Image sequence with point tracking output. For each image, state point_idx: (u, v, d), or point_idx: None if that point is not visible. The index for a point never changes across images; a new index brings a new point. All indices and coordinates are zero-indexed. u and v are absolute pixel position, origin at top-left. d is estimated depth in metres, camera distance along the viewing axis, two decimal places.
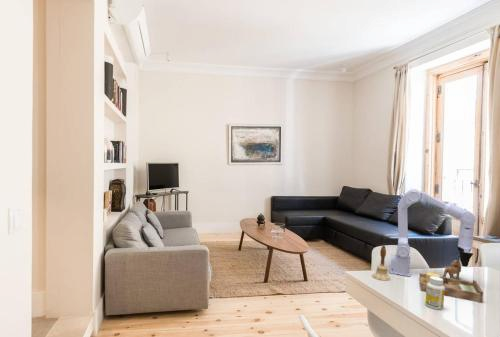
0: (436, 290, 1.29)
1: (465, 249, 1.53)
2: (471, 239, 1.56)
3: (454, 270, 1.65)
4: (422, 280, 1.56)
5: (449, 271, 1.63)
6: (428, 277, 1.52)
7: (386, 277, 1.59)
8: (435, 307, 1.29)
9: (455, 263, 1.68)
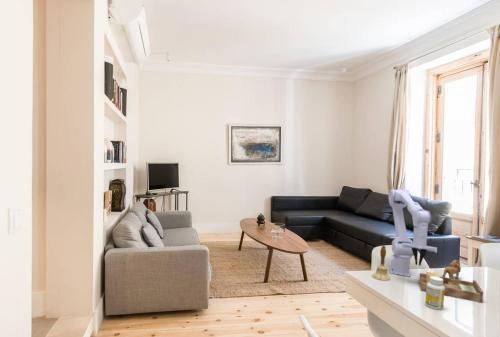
0: (436, 290, 1.29)
1: (402, 243, 1.59)
2: (415, 238, 1.54)
3: (454, 270, 1.64)
4: (422, 280, 1.56)
5: (449, 271, 1.63)
6: (428, 277, 1.52)
7: (386, 277, 1.59)
8: (435, 307, 1.29)
9: (454, 263, 1.68)
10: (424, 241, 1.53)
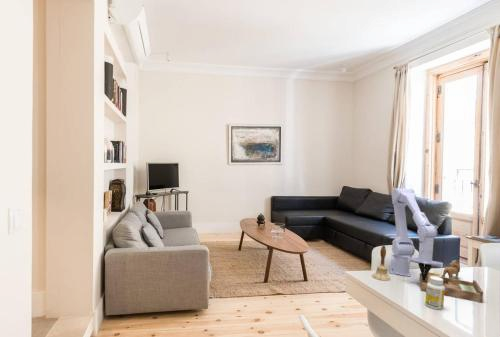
0: (436, 290, 1.29)
1: (407, 258, 1.58)
2: (421, 252, 1.53)
3: (453, 270, 1.64)
4: (422, 280, 1.56)
5: (448, 271, 1.63)
6: (429, 277, 1.51)
7: (386, 277, 1.59)
8: (435, 307, 1.29)
9: (454, 263, 1.68)
10: (429, 256, 1.52)
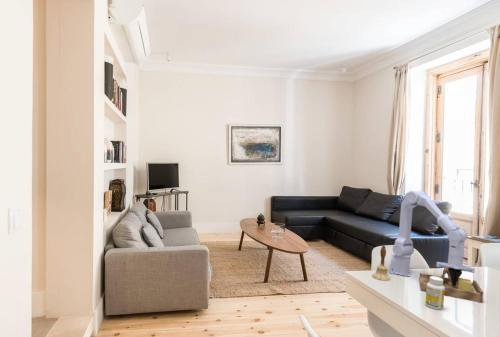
0: (436, 290, 1.29)
1: None
2: (451, 257, 1.48)
3: None
4: (422, 280, 1.56)
5: (448, 271, 1.63)
6: (460, 283, 1.46)
7: (386, 277, 1.59)
8: (435, 307, 1.29)
9: None
10: (460, 261, 1.46)
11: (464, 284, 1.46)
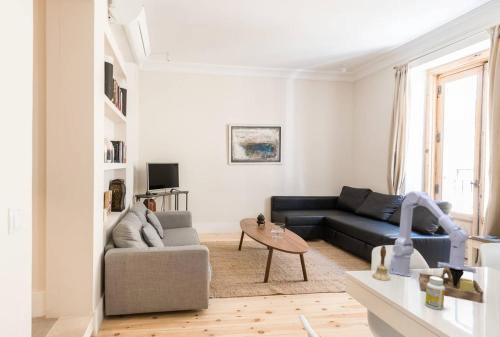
0: (436, 290, 1.29)
1: (438, 263, 1.53)
2: (453, 257, 1.48)
3: None
4: (422, 280, 1.56)
5: (447, 272, 1.62)
6: (461, 283, 1.46)
7: (386, 277, 1.59)
8: (435, 307, 1.29)
9: None
10: (462, 261, 1.46)
11: (466, 284, 1.45)
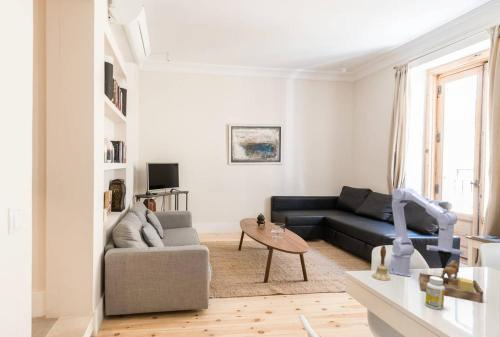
0: (436, 290, 1.29)
1: None
2: (441, 240, 1.50)
3: (452, 271, 1.64)
4: (422, 280, 1.56)
5: (447, 272, 1.62)
6: (461, 283, 1.46)
7: (386, 277, 1.59)
8: (435, 307, 1.29)
9: (453, 263, 1.67)
10: (450, 243, 1.48)
11: (466, 284, 1.45)
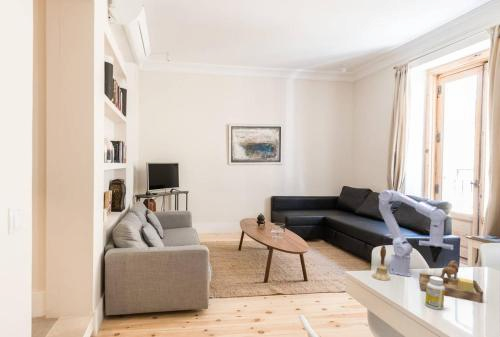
0: (436, 290, 1.29)
1: (419, 241, 1.64)
2: (432, 235, 1.59)
3: (452, 271, 1.63)
4: (422, 280, 1.56)
5: (447, 272, 1.62)
6: (461, 283, 1.46)
7: (386, 277, 1.59)
8: (435, 307, 1.29)
9: (452, 263, 1.67)
10: (440, 239, 1.58)
11: (466, 284, 1.45)
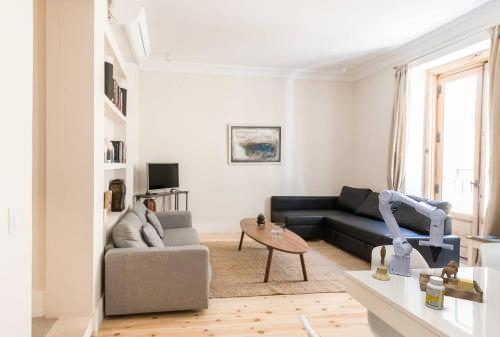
0: (436, 290, 1.29)
1: (419, 241, 1.64)
2: (432, 235, 1.59)
3: (451, 271, 1.63)
4: (422, 280, 1.56)
5: (447, 272, 1.62)
6: (461, 283, 1.46)
7: (386, 277, 1.59)
8: (435, 307, 1.29)
9: (452, 264, 1.67)
10: (440, 239, 1.58)
11: (466, 284, 1.45)
